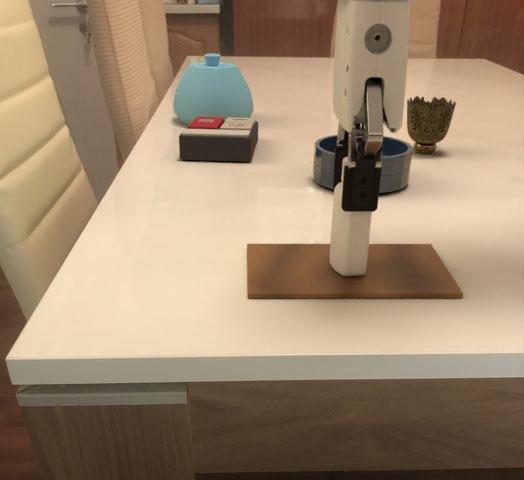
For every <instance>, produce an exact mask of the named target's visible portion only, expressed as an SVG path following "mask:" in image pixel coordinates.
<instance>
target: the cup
mask: <svg viewBox="0 0 524 480" xmlns="http://www.w3.org/2000/svg"><path fill="white" fill-rule="evenodd" d="M406 105H407V107H406V129H407V135H408V137H409V138H410V139H411V140H412V141H413V142H414V143H413V146H412V147H413V150H414V151H415V153H418V154H422V155H429V154H434V153H435V152H436V150H437V148H438V147H437V144H438V143H440V142H441V141H444V139H445V138H446V136H447V134H448V133H449V130H450V126H451V123H452V119H453V115H454V113H455V107H456V105H457V102H456V100H454V101H453V99H450V100H448V99H446V97H444V96H443V97H440V98H437V97H436V96H434V97H433V98H432V99H431V101H429V100H428V101H426V100H425V97H424V96H421V98H420V97H419V95H416V96H414V98H412V97H409V98H407V101H406Z"/></svg>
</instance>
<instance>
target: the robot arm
mask: <svg viewBox="0 0 524 480" xmlns="http://www.w3.org/2000/svg"><path fill="white" fill-rule="evenodd" d="M414 1H415V0H337V11H336V12H337V13H336V27H335V40H334V53H333V54H334V56H333V73H332V111H333V113H334V115H335V117H336V119H337V121H338V127H337V134H336V135H337V146H343V147H335V158H334V172H333V187H334V188H335V187H336V186H337V184H338V183H340V182H342V180H341V178H342V164H343V159H344V158H345V157H348V166H344V176H343V189H342V201H341V207H342V210H343V211H345V212H372V213H374V212H376V211H377V210H378V207H379V196H380V193H379V188H380V179H381V170H382V167H381V165H382V146H383V136H385V135H384V134H385V133H384V126H385V127H386V128H387V130H388V131H389V132H390V133H392V134H397V133H398V132H399V131H400V130H401V129H402V127H403V121H404V108H405V99H406V98H405V96H406V87H407V86H406V84H407V72H408V58H409V44H410V43H409V41H410V2H414ZM357 143H359V144H357ZM356 148H357V151H356Z"/></svg>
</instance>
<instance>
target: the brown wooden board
mask: <svg viewBox="0 0 524 480" xmlns="http://www.w3.org/2000/svg"><path fill="white" fill-rule="evenodd" d="M246 256H247V257H246V258H247V259H246V262H247V263H246V265H247V266H246V268H247V270H246V271H247V274H246V275H247V299H462V298H463V295H464V292H463V291H462V290H461V288H460V286H459V285H458V283H457V282H456V280H455V279H454V276H452V274H451V273H450V271H449V269H448V268H447V266H446V265H445V263H444V262H443V260H442V259H441V257H440V255H439V254H438V252H437V251H436V249H435V247H434V246H433V245H432V243H369V249H368V259H367V268H366V272H365V274H364V275H361V276H343V275H341V274H339V273H338V272H336V271H335V270H334V269H333V268H332V266H331V264H330V260H329V257H330V243H246Z"/></svg>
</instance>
